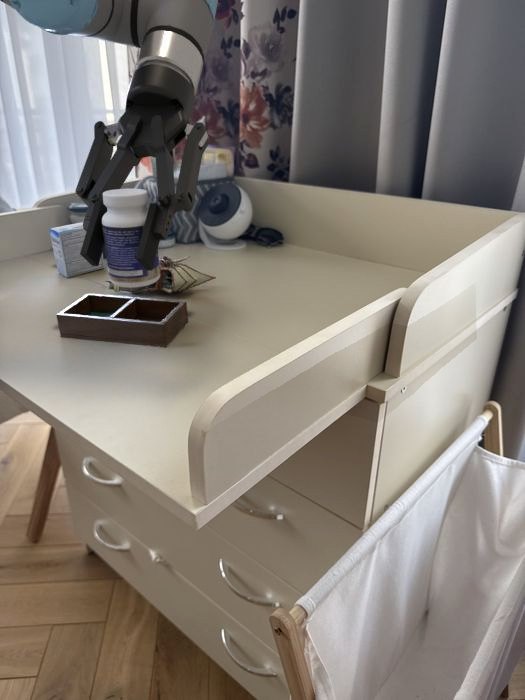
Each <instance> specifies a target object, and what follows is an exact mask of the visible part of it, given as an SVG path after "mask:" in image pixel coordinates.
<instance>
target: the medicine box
mask: <svg viewBox="0 0 525 700" xmlns="http://www.w3.org/2000/svg"><path fill="white" fill-rule="evenodd" d="M83 222H84V221H82V222H75V223H71V224H66V225H60V226H56V227H51V228H49V236H50V240H51V241H50V242H51V246H52V251H53V255H54V261H55V265H56V271H57V273H58V274H60V275H62V276H63V277H65V278H72V277H74V276H75V277H76V276H79V275H83V274H87V273H90V272H95V271H99V270H101V269H105V268H106V266H105V260H104V254H103V252H102V255H101V258H100V262H99V265H98V266H92V265H91V264H90V263H89V262H88V261H87V260H86V259H85V258H84V257H82V256H81V255H80V252H81V248H82V245H83V242H84V238H85V235H86V231H85V230H84V229H83Z"/></svg>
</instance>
